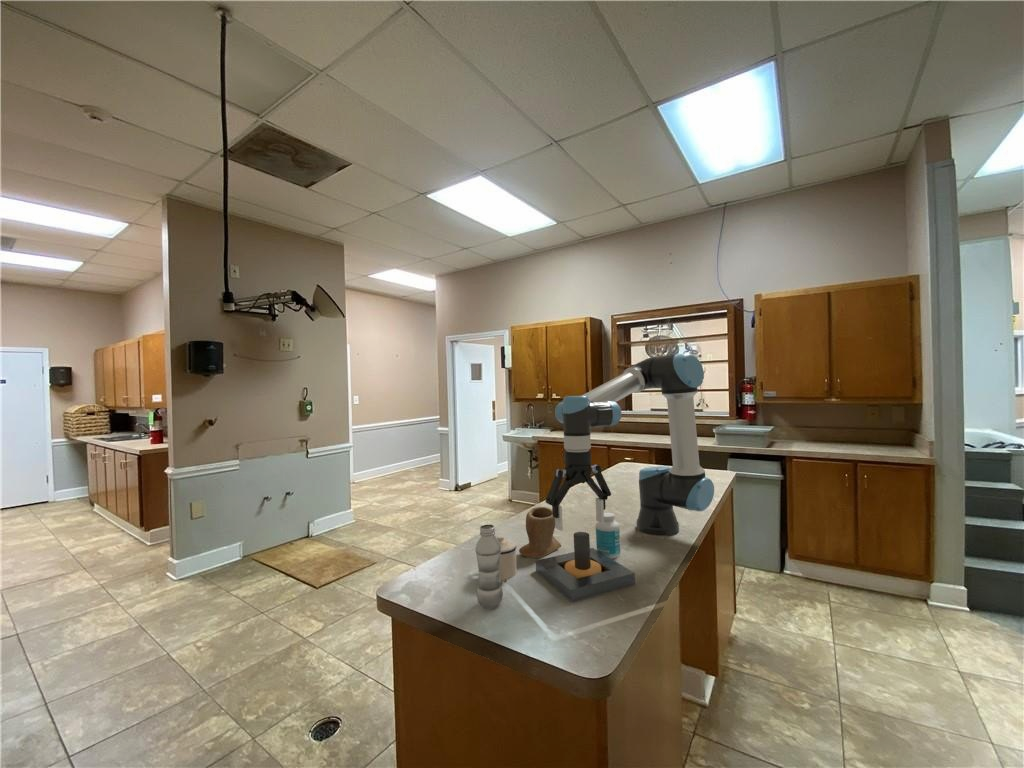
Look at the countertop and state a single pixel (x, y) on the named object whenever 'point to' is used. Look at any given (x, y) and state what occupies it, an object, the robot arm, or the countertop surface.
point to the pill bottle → (608, 536)
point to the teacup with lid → (507, 559)
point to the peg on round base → (582, 558)
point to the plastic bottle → (488, 568)
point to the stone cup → (540, 533)
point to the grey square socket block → (587, 586)
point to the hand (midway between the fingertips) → (580, 525)
